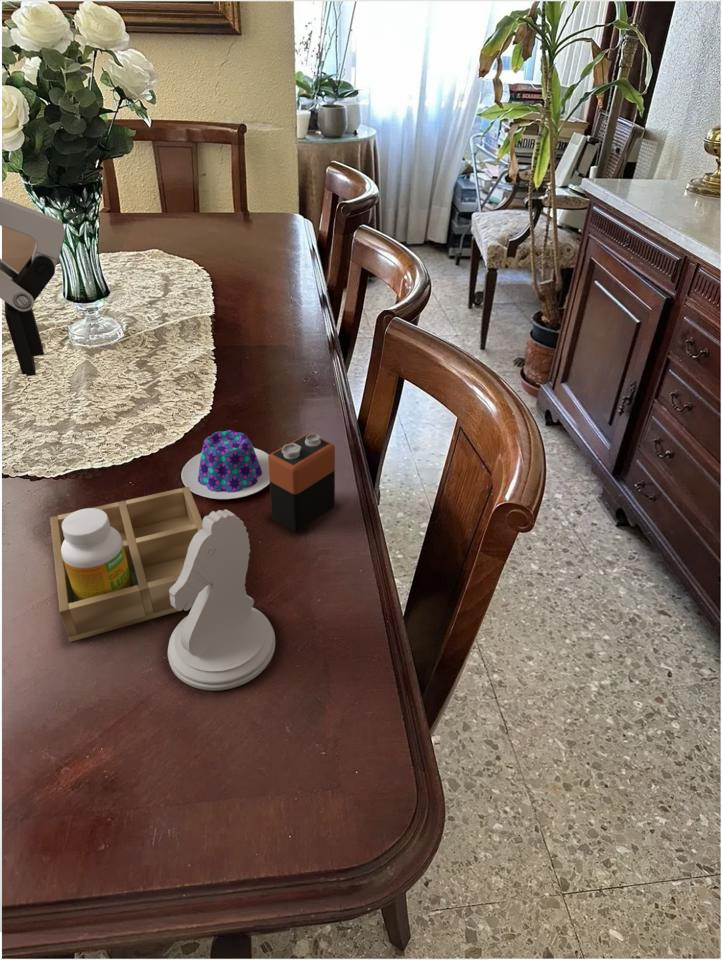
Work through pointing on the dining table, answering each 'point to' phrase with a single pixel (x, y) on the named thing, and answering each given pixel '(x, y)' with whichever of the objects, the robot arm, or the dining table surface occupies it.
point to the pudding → (227, 467)
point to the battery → (302, 481)
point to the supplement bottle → (93, 554)
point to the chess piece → (218, 610)
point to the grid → (133, 562)
